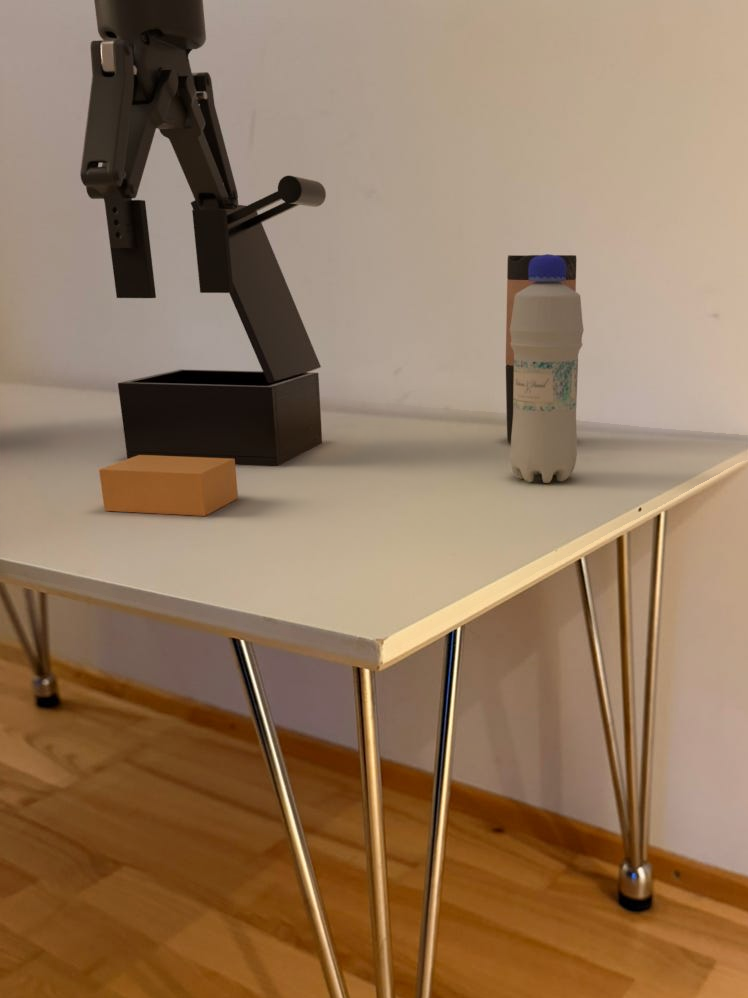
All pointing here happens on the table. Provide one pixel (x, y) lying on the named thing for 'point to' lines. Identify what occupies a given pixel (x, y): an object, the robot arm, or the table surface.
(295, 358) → the maker lid
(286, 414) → the open dark storage box
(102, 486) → the orange rectangular block
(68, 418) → the table surface
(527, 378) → the bottle
